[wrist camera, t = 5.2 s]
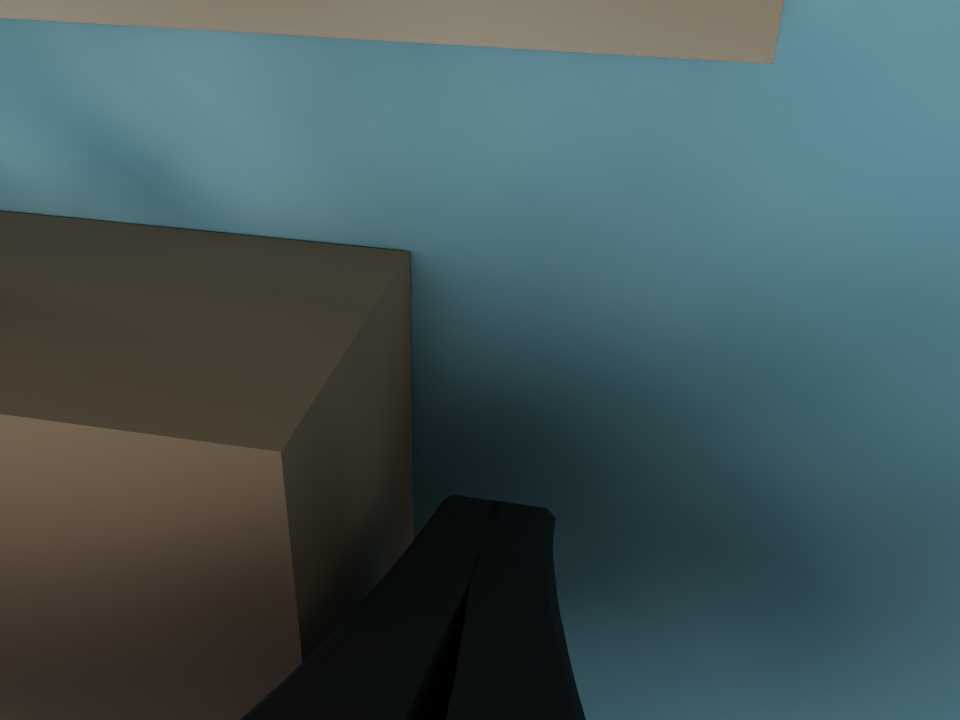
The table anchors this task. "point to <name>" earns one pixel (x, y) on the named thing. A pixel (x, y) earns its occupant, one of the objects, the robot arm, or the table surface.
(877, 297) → the table surface
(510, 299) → the table surface
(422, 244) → the table surface
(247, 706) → the walnut block
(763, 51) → the open wooden frame
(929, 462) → the table surface
